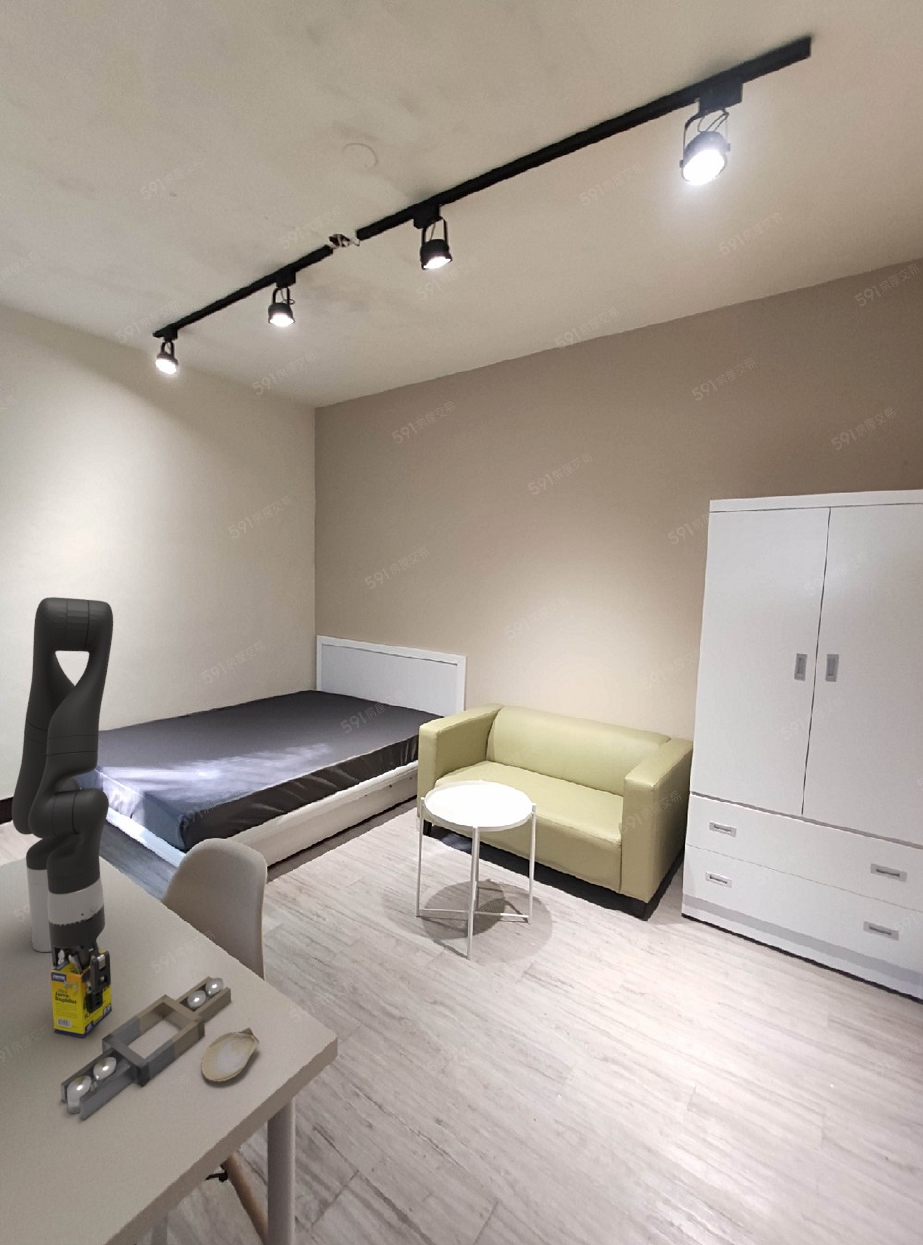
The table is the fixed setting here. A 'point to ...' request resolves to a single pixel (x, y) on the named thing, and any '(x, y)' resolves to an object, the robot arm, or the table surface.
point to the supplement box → (74, 1002)
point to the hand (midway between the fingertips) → (82, 1000)
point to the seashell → (228, 1055)
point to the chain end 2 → (187, 1012)
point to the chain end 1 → (114, 1070)
